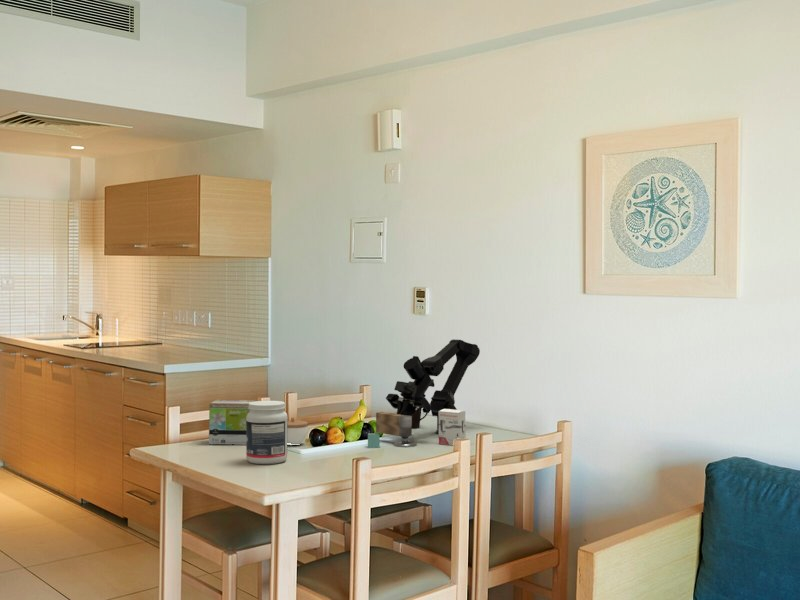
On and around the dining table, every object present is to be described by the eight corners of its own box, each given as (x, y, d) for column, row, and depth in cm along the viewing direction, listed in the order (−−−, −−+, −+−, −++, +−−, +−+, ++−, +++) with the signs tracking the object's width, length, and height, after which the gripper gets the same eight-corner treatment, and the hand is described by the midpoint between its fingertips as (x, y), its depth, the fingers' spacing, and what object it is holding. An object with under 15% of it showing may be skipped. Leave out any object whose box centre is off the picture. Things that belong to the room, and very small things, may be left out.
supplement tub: (252, 457, 278) (252, 399, 278) (291, 457, 277) (291, 400, 277) (240, 464, 265) (241, 405, 265) (282, 465, 264) (282, 405, 264)
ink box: (437, 444, 302) (437, 410, 302) (443, 442, 307) (443, 408, 307) (460, 446, 298) (460, 411, 298) (466, 444, 303) (466, 410, 303)
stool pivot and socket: (371, 442, 306) (371, 429, 306) (417, 443, 304) (417, 430, 304) (366, 447, 295) (366, 434, 295) (415, 448, 293) (415, 435, 293)
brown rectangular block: (414, 436, 300) (414, 416, 300) (405, 437, 297) (405, 417, 297) (383, 431, 312) (383, 411, 312) (374, 432, 309) (374, 412, 309)
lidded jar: (305, 441, 307) (305, 415, 307) (310, 446, 297) (310, 419, 297) (275, 442, 305) (275, 416, 304) (279, 448, 294) (279, 420, 294)
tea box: (208, 445, 299) (208, 402, 299) (213, 440, 309) (213, 399, 309) (252, 445, 300) (252, 402, 300) (256, 440, 310) (256, 399, 310)
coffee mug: (396, 426, 342) (396, 401, 342) (416, 425, 345) (416, 400, 345) (409, 431, 331) (409, 404, 331) (429, 429, 335) (429, 403, 335)
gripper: (389, 371, 317) (367, 403, 310) (426, 374, 304) (403, 408, 296) (405, 391, 323) (383, 423, 315) (441, 395, 309) (419, 429, 302)
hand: (396, 421), depth 307 cm, fingers closed
